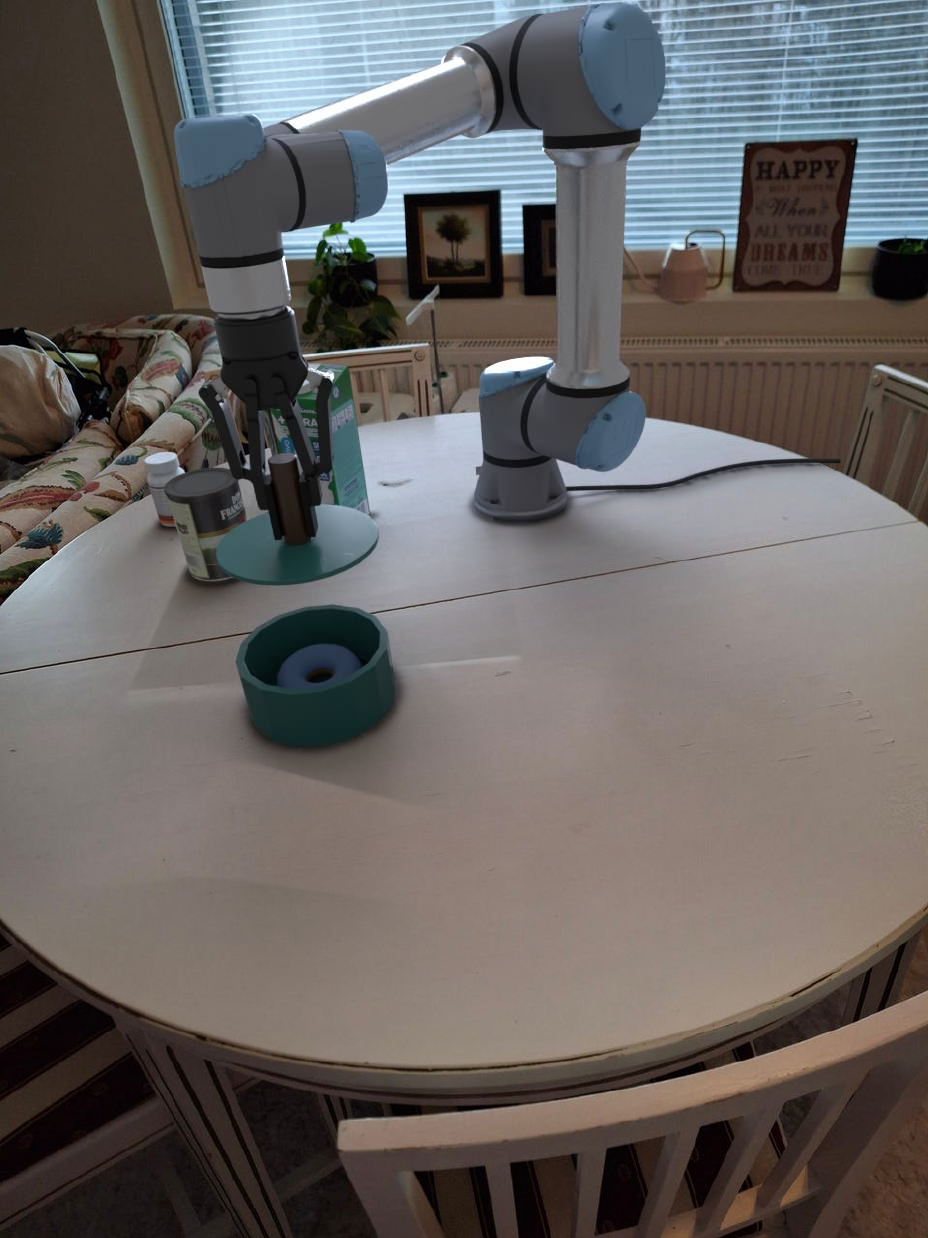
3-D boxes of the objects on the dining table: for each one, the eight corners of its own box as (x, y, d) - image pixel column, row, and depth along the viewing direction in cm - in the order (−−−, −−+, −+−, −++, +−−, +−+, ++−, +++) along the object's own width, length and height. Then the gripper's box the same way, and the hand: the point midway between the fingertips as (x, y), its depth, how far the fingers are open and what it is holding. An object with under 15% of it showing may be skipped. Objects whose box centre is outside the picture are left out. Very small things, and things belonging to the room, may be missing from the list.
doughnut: (343, 729, 88) (337, 696, 86) (264, 714, 91) (256, 682, 89) (379, 674, 96) (374, 643, 94) (305, 663, 99) (299, 632, 97)
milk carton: (295, 533, 130) (263, 379, 116) (324, 509, 136) (297, 361, 122) (344, 540, 126) (317, 383, 112) (371, 515, 133) (348, 364, 119)
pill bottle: (193, 508, 140) (176, 447, 134) (200, 522, 135) (183, 459, 129) (157, 517, 138) (138, 455, 132) (163, 531, 133) (143, 468, 127)
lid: (382, 507, 97) (371, 422, 91) (376, 583, 82) (362, 486, 76) (235, 519, 96) (214, 434, 91) (202, 597, 82) (174, 501, 76)
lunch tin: (395, 649, 101) (388, 599, 97) (394, 739, 87) (386, 685, 83) (262, 661, 101) (249, 611, 97) (240, 753, 87) (223, 700, 83)
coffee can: (268, 551, 125) (249, 467, 117) (240, 586, 117) (217, 497, 109) (208, 548, 127) (185, 465, 119) (176, 582, 119) (149, 495, 111)
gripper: (341, 294, 78) (371, 512, 91) (176, 307, 78) (230, 523, 91) (334, 312, 72) (368, 543, 85) (156, 325, 72) (216, 555, 85)
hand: (296, 532), depth 88 cm, fingers closed on lid, 3 cm apart
